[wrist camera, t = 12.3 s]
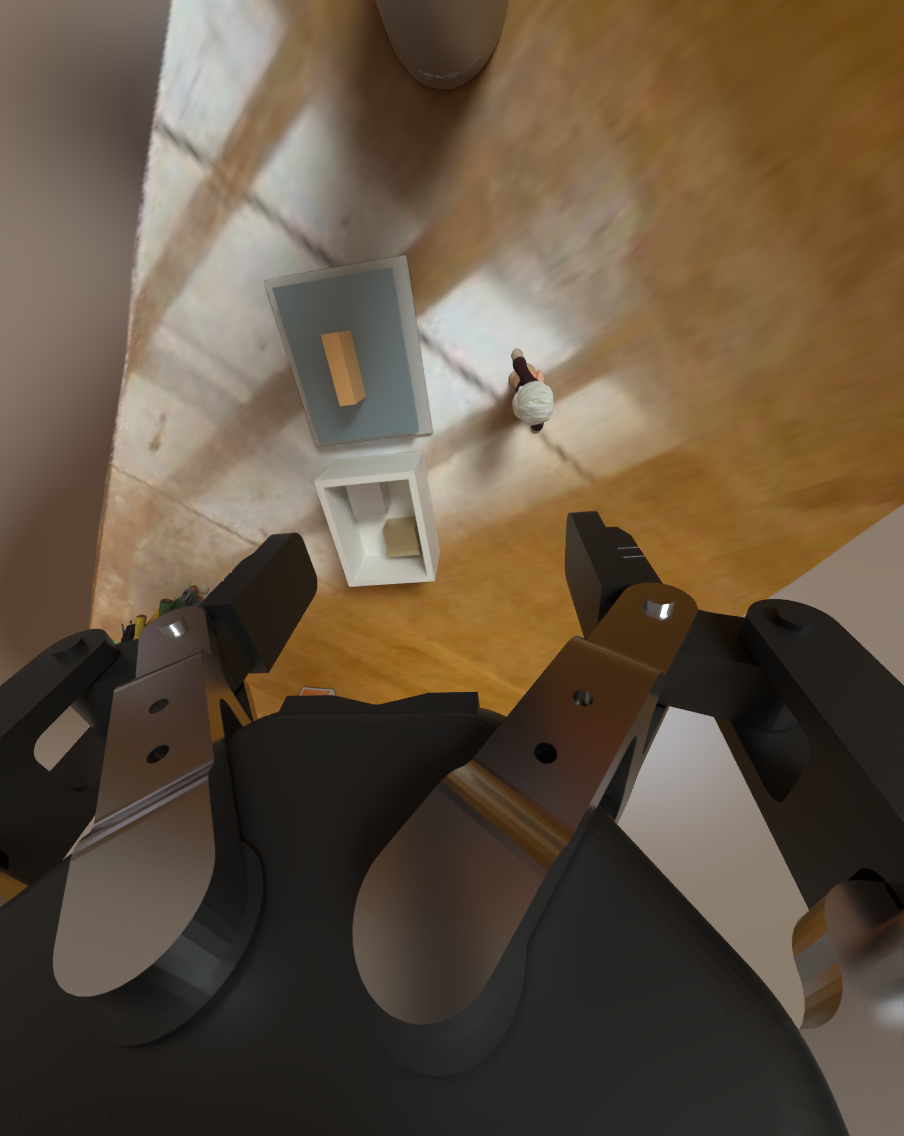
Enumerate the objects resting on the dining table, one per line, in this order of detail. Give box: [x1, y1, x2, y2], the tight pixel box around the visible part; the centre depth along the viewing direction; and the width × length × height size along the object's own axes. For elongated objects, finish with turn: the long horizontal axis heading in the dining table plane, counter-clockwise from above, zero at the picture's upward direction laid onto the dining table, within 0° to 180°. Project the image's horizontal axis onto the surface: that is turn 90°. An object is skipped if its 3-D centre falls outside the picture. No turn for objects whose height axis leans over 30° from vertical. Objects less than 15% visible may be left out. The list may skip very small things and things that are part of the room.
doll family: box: [113, 581, 209, 644], centre depth 59 cm, size 23×9×13 cm, turn 173°
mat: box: [264, 255, 433, 446], centre depth 41 cm, size 16×14×1 cm
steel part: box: [346, 481, 391, 517], centre depth 47 cm, size 4×4×3 cm
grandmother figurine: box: [509, 349, 554, 434], centre depth 36 cm, size 8×4×13 cm, turn 33°
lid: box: [272, 268, 419, 443], centre depth 38 cm, size 14×11×6 cm
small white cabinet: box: [314, 451, 440, 587], centre depth 47 cm, size 14×11×7 cm
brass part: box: [382, 516, 422, 557], centre depth 50 cm, size 4×4×3 cm
